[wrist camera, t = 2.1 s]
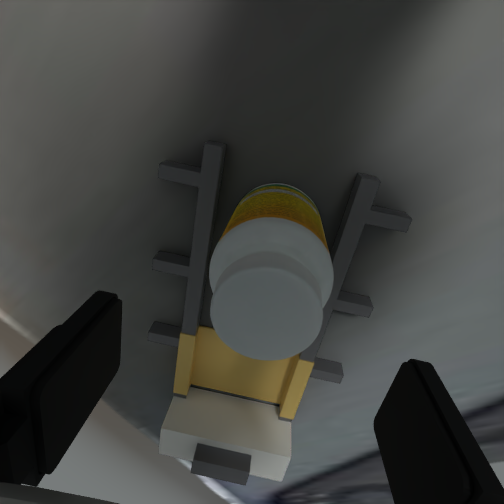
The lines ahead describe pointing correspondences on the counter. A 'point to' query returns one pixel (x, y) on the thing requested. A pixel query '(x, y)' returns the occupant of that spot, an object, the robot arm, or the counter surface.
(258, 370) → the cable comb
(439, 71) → the counter surface
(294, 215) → the supplement bottle
